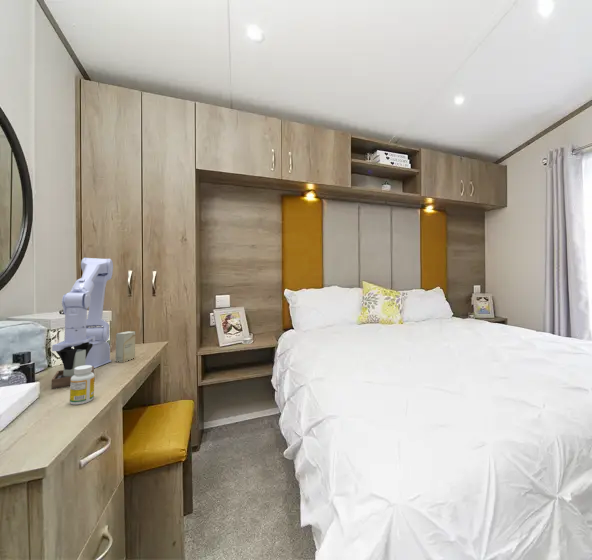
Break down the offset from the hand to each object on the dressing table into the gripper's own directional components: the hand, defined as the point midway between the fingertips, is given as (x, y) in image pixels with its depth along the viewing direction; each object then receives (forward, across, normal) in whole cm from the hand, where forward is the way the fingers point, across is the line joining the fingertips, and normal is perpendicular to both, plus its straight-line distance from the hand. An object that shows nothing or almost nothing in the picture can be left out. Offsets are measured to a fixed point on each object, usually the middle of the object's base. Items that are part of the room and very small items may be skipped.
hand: (74, 367), depth 89 cm
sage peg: (+2, 0, 0) cm, 2 cm away
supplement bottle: (+5, -14, -15) cm, 21 cm away
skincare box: (+5, +25, 0) cm, 25 cm away
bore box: (+5, 0, 0) cm, 5 cm away
